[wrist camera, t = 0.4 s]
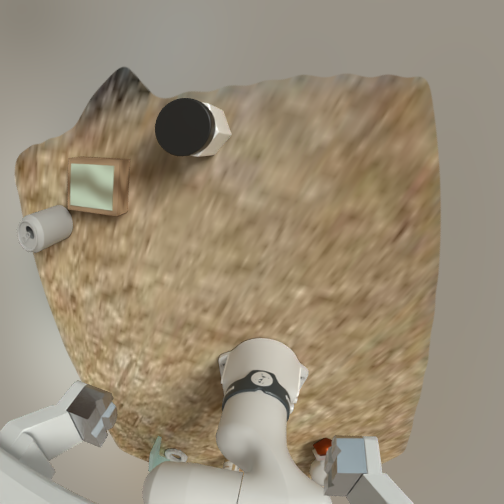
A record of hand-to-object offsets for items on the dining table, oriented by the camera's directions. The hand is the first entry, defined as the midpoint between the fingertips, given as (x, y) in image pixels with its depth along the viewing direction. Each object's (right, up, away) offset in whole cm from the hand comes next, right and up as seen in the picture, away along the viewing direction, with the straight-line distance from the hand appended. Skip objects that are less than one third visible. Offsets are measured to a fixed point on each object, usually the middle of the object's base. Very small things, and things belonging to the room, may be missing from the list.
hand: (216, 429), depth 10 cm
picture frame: (-28, +19, +46) cm, 57 cm away
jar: (-6, +27, +41) cm, 50 cm away
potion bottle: (+21, -47, +62) cm, 80 cm away
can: (-39, +13, +51) cm, 65 cm away
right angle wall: (-21, -53, +70) cm, 91 cm away
